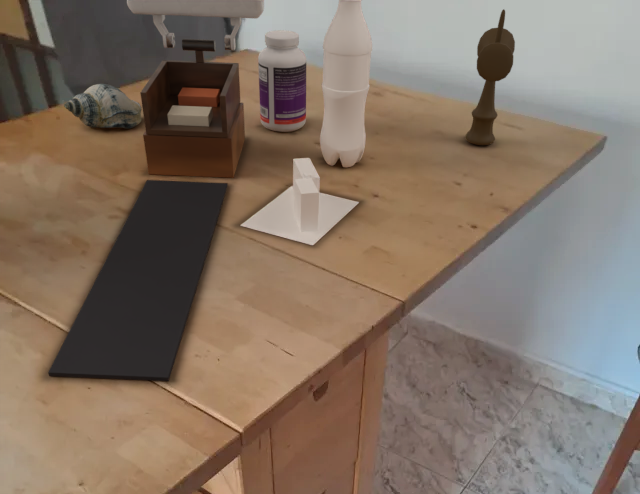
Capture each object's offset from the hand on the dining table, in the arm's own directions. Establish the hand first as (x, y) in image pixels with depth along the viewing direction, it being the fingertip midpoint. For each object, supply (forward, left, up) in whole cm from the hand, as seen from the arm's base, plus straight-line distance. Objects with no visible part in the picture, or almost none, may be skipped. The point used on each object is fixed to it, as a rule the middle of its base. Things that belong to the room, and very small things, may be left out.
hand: (200, 48), depth 106 cm
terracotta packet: (-2, -3, -7) cm, 8 cm away
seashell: (-14, +13, -14) cm, 23 cm away
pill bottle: (+14, +1, -14) cm, 20 cm away
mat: (-20, -36, -14) cm, 44 cm away
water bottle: (+16, -17, -14) cm, 28 cm away
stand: (-4, -6, -14) cm, 16 cm away
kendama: (+42, -19, -14) cm, 49 cm away
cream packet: (-6, -10, -7) cm, 13 cm away
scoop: (-4, -6, -8) cm, 11 cm away
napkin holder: (+2, -31, -14) cm, 35 cm away
